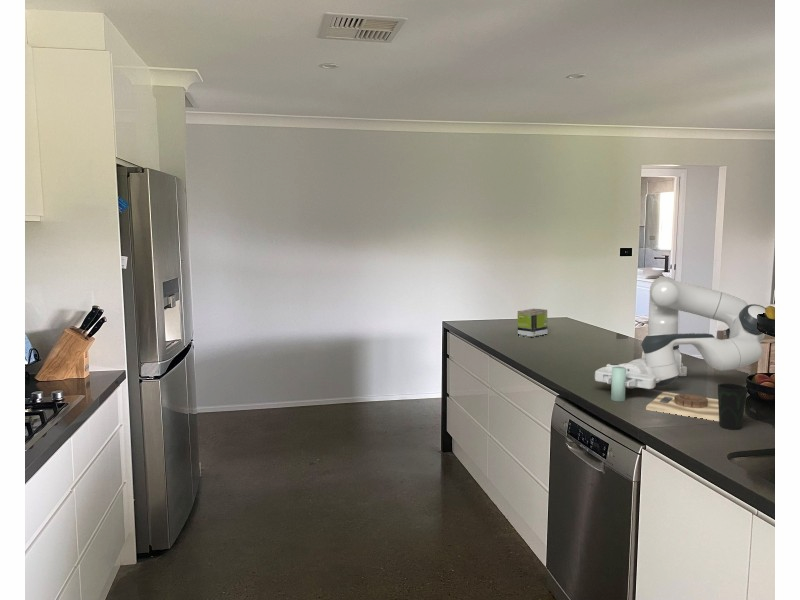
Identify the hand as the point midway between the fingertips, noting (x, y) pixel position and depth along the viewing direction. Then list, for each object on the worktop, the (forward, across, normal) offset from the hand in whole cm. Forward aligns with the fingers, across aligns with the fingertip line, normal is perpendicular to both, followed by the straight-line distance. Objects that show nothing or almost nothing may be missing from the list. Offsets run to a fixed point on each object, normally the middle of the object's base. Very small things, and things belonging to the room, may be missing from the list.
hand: (617, 382), depth 202 cm
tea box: (-104, +84, -6) cm, 134 cm away
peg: (-1, 0, -6) cm, 6 cm away
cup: (+8, -36, -6) cm, 37 cm away
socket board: (-6, -22, -6) cm, 23 cm away
